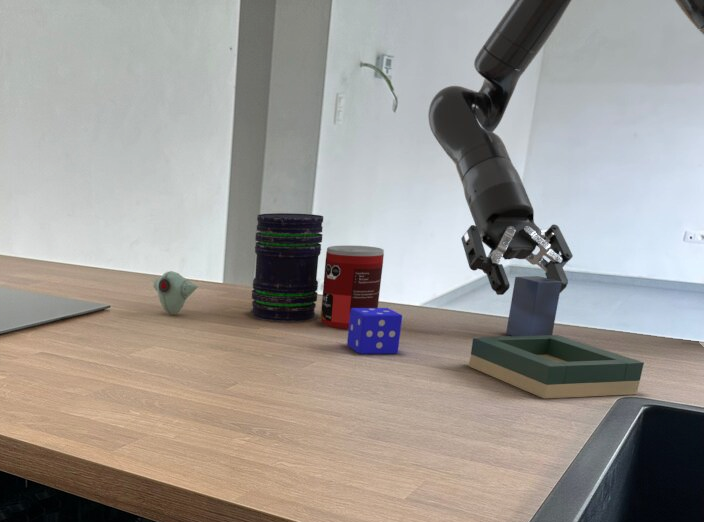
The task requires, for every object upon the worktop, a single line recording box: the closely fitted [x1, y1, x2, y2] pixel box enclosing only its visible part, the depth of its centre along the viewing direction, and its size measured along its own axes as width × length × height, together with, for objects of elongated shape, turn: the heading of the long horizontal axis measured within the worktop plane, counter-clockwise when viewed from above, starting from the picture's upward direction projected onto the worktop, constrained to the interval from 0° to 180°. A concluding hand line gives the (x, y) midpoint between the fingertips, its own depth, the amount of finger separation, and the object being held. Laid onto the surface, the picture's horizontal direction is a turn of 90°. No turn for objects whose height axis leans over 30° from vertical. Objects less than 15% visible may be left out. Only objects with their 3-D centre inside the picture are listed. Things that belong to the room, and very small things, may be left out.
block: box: [505, 275, 562, 337], centre depth 117 cm, size 4×5×8 cm
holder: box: [468, 334, 645, 400], centre depth 96 cm, size 11×14×4 cm
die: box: [346, 307, 403, 355], centre depth 110 cm, size 5×5×5 cm
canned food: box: [320, 245, 385, 330], centre depth 124 cm, size 8×8×11 cm
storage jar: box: [251, 212, 324, 323], centre depth 130 cm, size 10×10×15 cm
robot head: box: [152, 270, 199, 316], centre depth 132 cm, size 8×4×7 cm, turn 46°
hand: (532, 290), depth 117 cm, fingers open, 8 cm apart
